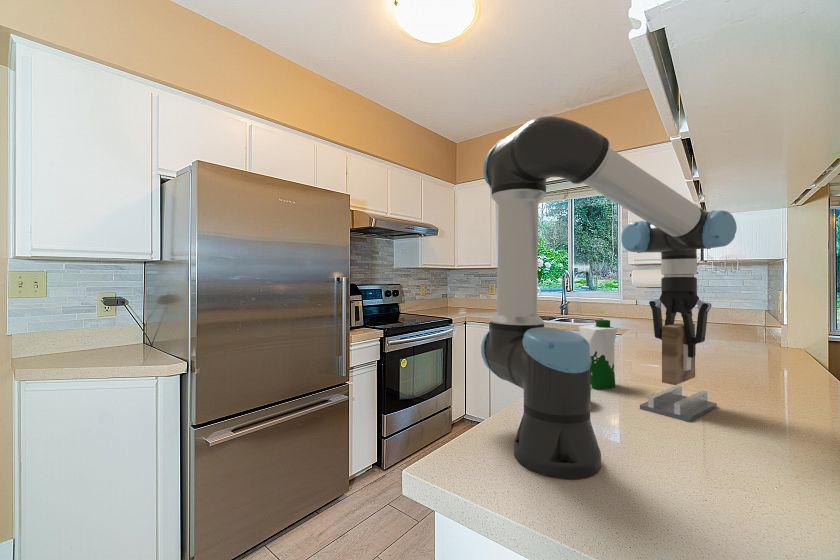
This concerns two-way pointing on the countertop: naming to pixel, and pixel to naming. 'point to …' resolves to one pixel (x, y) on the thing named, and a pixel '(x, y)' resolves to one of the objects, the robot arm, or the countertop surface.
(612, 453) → the countertop surface
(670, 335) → the door panel
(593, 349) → the milk carton
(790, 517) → the countertop surface
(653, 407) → the track
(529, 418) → the robot arm
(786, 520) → the countertop surface
